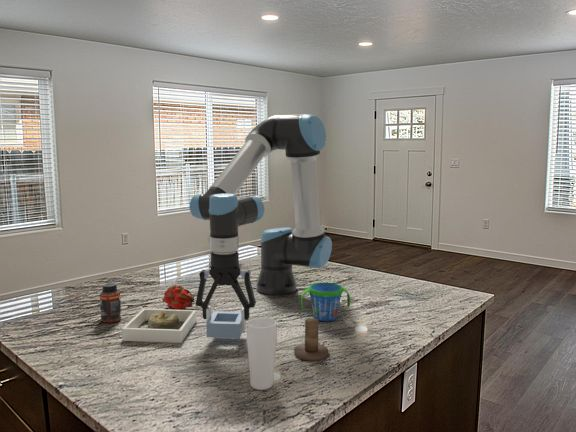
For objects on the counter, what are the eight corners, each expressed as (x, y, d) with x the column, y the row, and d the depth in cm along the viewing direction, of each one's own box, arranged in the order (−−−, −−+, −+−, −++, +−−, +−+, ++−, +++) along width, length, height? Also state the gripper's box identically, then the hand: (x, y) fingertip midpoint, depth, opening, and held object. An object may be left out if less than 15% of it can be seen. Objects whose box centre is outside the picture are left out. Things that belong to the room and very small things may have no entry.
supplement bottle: (125, 318, 153) (124, 283, 151) (113, 324, 147) (111, 288, 146) (109, 315, 155) (108, 281, 153) (96, 322, 149) (95, 286, 148)
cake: (176, 336, 141) (174, 319, 139) (141, 336, 141) (140, 319, 140) (184, 321, 150) (183, 305, 149) (152, 321, 151) (151, 304, 150)
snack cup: (300, 323, 150) (301, 291, 148) (300, 311, 160) (300, 281, 159) (351, 324, 150) (352, 292, 148) (348, 312, 160) (348, 282, 159)
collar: (213, 324, 141) (213, 311, 140) (244, 325, 140) (244, 312, 140) (206, 337, 132) (206, 323, 131) (239, 338, 131) (239, 324, 131)
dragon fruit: (165, 309, 166) (193, 320, 161) (151, 301, 159) (180, 312, 153) (177, 286, 169) (204, 297, 163) (164, 277, 162) (193, 288, 156)
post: (295, 345, 133) (295, 314, 132) (328, 347, 133) (328, 315, 131) (293, 360, 124) (293, 326, 123) (328, 361, 124) (329, 327, 122)
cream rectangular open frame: (143, 319, 152) (143, 308, 151) (196, 321, 151) (196, 310, 150) (122, 340, 135) (121, 328, 135) (181, 342, 134) (181, 330, 134)
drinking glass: (246, 378, 114) (246, 317, 112) (275, 377, 115) (276, 316, 113) (246, 393, 108) (246, 328, 106) (277, 392, 108) (278, 327, 106)
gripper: (181, 254, 129) (184, 334, 133) (262, 255, 128) (263, 336, 132) (188, 247, 137) (191, 324, 140) (266, 248, 135) (266, 325, 139)
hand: (226, 330), depth 136 cm, fingers closed on collar, 9 cm apart
